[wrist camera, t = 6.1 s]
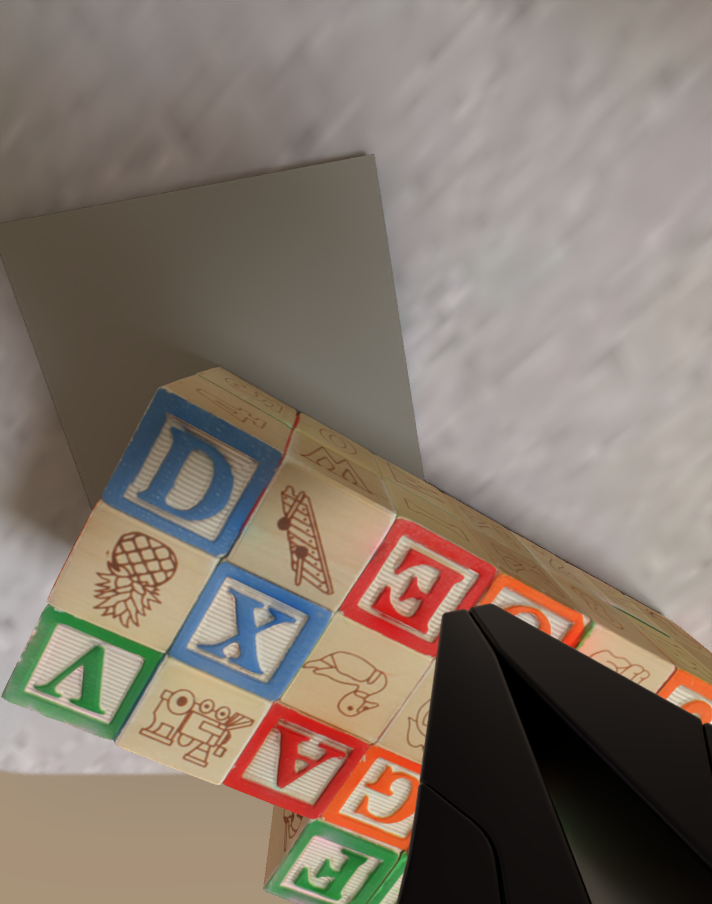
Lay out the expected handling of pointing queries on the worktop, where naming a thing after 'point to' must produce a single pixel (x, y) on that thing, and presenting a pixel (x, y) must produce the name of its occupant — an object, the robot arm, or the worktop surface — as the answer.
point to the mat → (219, 306)
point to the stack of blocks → (299, 624)
